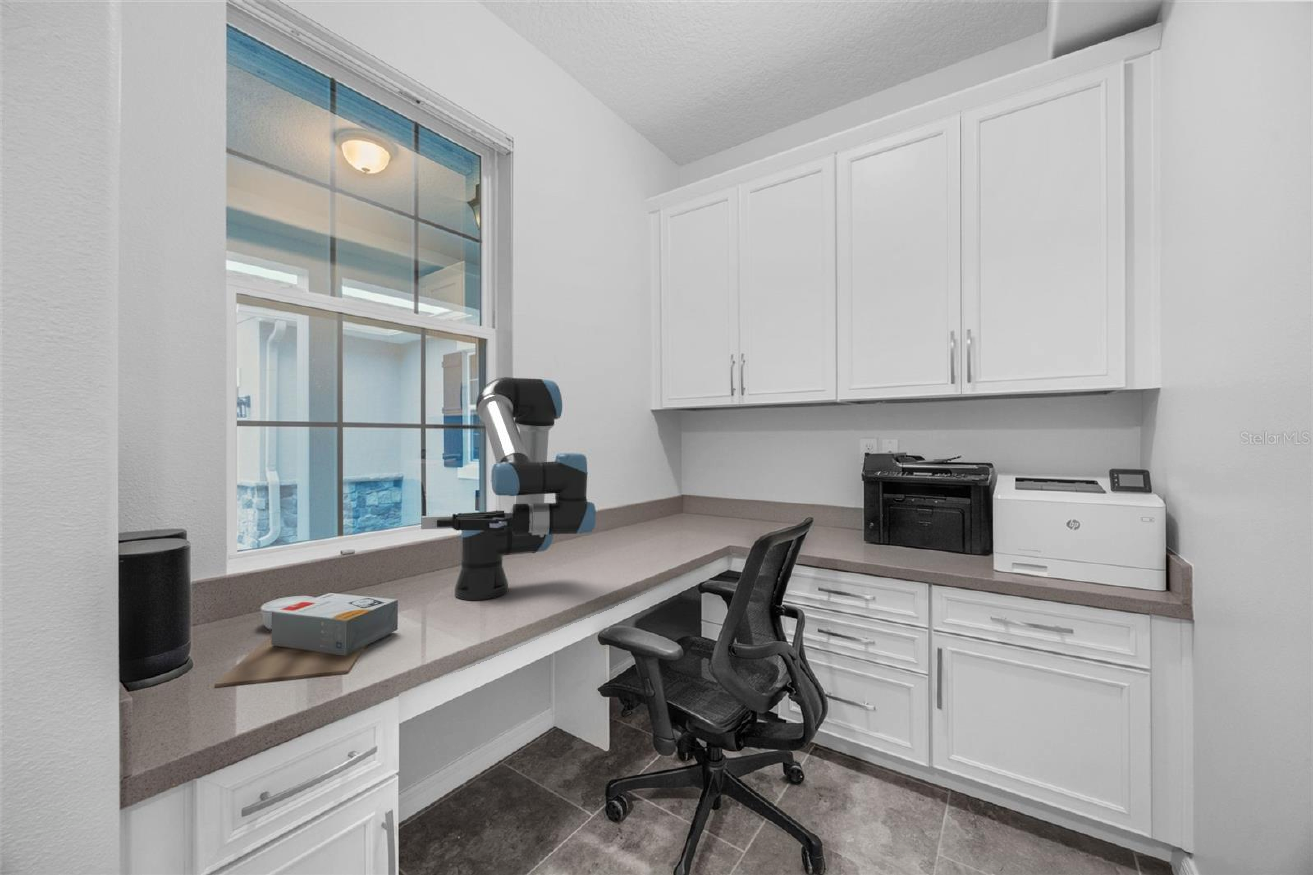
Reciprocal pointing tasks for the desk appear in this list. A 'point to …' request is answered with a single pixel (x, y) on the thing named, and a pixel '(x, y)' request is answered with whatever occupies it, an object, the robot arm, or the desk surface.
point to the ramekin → (279, 607)
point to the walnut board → (286, 665)
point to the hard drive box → (334, 623)
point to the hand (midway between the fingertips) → (421, 522)
